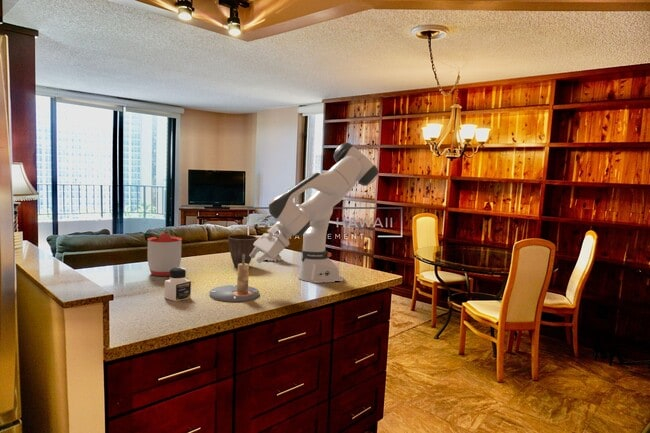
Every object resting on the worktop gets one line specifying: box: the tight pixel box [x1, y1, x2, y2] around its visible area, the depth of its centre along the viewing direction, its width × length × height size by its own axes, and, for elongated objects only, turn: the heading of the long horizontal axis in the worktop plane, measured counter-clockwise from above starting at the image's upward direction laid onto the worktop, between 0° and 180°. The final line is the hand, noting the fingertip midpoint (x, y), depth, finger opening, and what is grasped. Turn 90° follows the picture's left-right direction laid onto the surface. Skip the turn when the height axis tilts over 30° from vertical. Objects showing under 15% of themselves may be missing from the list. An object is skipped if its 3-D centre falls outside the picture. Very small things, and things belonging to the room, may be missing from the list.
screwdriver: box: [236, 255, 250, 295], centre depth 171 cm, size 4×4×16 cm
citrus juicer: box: [146, 232, 183, 277], centre depth 201 cm, size 16×17×20 cm
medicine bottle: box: [163, 266, 192, 303], centre depth 165 cm, size 7×7×12 cm
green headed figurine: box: [259, 228, 282, 263], centre depth 245 cm, size 12×13×18 cm
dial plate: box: [209, 284, 260, 303], centre depth 174 cm, size 20×20×1 cm
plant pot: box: [227, 234, 258, 269], centre depth 224 cm, size 15×15×16 cm
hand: (254, 259), depth 173 cm, fingers open, 8 cm apart
